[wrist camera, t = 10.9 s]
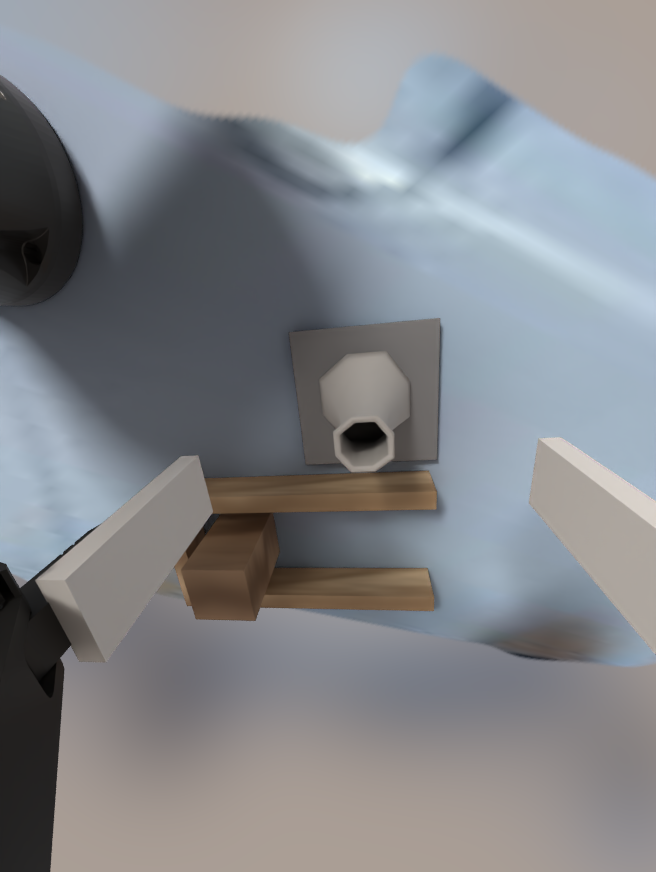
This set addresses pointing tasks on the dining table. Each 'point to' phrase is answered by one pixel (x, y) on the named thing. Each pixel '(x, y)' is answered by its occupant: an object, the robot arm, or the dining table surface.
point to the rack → (324, 495)
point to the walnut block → (232, 567)
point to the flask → (365, 408)
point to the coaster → (401, 340)
